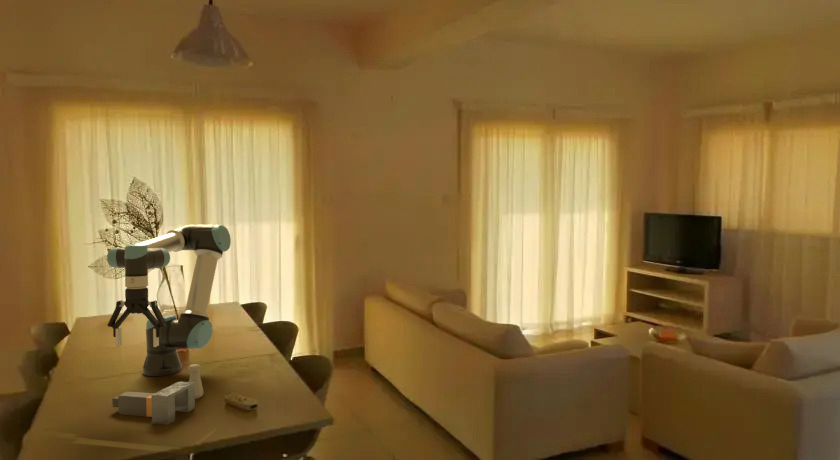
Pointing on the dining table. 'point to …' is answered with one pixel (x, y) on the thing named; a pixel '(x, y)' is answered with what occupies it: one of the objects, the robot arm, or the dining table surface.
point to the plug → (134, 403)
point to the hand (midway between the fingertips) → (137, 346)
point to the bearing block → (172, 402)
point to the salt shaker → (196, 379)
